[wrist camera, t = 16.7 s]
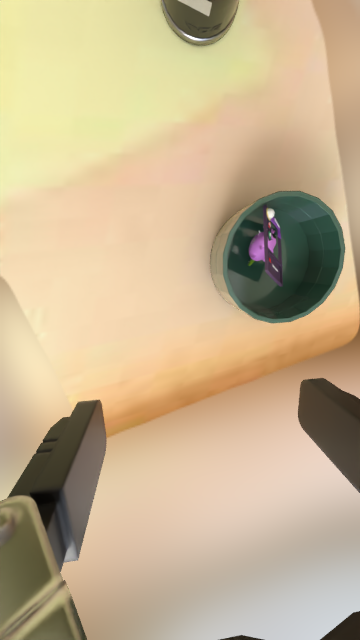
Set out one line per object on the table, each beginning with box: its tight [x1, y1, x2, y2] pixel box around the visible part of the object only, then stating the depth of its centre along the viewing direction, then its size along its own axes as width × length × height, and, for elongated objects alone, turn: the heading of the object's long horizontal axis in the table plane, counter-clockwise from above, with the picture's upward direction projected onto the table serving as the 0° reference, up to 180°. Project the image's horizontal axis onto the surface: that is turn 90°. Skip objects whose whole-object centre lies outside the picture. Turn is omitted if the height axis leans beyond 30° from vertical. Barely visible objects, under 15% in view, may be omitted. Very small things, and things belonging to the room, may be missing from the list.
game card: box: [248, 205, 283, 287], centre depth 32 cm, size 7×5×9 cm
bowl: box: [210, 191, 345, 323], centre depth 33 cm, size 16×16×7 cm
